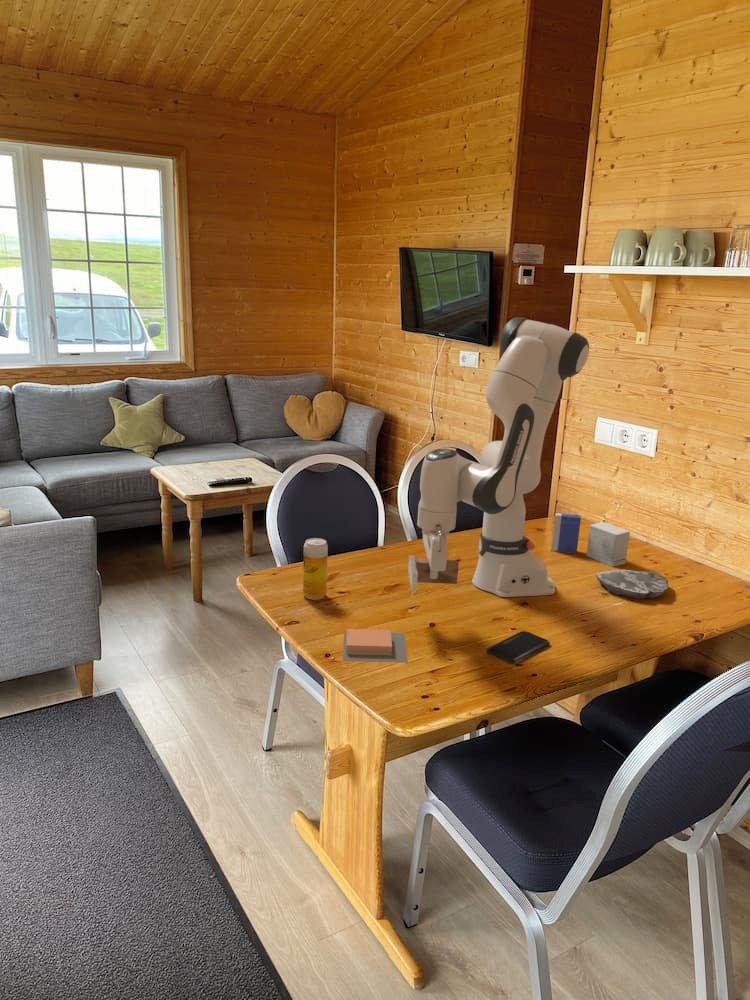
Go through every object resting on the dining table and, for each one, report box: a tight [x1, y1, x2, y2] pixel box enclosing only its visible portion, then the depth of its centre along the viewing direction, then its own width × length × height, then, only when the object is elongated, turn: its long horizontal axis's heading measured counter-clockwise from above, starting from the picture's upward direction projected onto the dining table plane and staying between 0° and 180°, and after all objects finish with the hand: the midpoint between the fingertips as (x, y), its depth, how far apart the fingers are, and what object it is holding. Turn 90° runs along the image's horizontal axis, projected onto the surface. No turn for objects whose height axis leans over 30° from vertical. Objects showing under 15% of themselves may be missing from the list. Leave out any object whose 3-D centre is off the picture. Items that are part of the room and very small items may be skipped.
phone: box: [486, 630, 550, 665], centre depth 175 cm, size 8×1×15 cm
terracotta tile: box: [346, 628, 392, 655], centre depth 171 cm, size 2×8×10 cm
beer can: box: [302, 537, 329, 601], centre depth 196 cm, size 6×6×15 cm
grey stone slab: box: [595, 569, 669, 599], centre depth 211 cm, size 20×17×3 cm
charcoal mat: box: [342, 630, 408, 663], centre depth 172 cm, size 14×14×1 cm
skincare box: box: [586, 521, 631, 568], centre depth 232 cm, size 10×6×10 cm, turn 33°
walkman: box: [550, 512, 582, 554], centre depth 238 cm, size 8×3×12 cm, turn 75°
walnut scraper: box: [407, 554, 460, 591], centre depth 181 cm, size 11×12×5 cm
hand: (432, 574), depth 181 cm, fingers closed on walnut scraper, 2 cm apart
